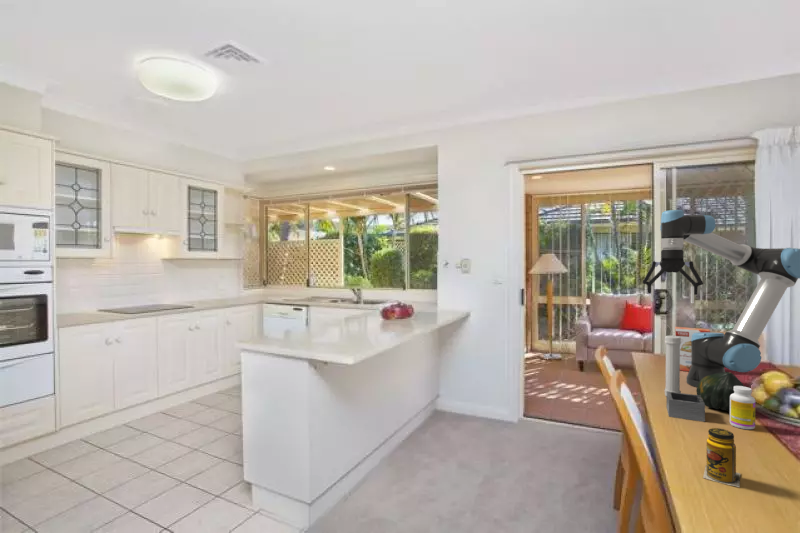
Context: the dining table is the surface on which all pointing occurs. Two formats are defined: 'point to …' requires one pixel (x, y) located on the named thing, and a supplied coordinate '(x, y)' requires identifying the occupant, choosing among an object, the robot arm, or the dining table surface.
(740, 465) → the dining table surface
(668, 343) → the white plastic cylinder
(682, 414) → the collar
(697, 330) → the cracker box
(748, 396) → the supplement bottle
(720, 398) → the squash
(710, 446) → the condiment
